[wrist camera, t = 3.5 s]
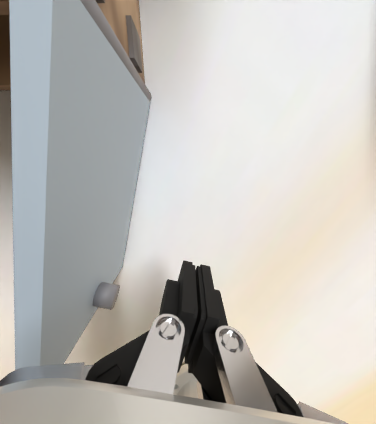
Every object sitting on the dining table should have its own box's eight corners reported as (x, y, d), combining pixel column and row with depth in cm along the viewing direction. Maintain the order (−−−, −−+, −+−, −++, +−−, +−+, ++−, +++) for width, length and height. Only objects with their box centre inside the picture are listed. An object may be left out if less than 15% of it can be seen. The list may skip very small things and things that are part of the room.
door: (167, 96, 15) (105, -86, 4) (134, 269, 19) (61, 417, 8) (139, 88, 15) (-7, -123, 4) (113, 264, 19) (9, 409, 8)
